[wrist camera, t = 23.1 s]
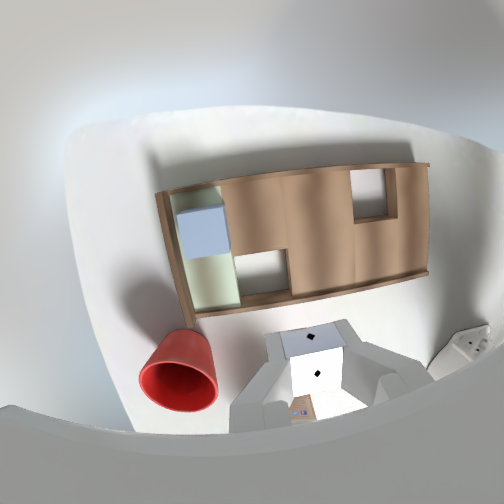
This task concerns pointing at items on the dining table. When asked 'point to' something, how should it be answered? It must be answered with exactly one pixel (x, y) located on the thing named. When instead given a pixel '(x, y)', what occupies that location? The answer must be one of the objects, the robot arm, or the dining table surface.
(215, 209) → the cube
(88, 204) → the dining table surface
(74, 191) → the dining table surface
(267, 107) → the dining table surface
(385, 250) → the box
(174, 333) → the flower pot
